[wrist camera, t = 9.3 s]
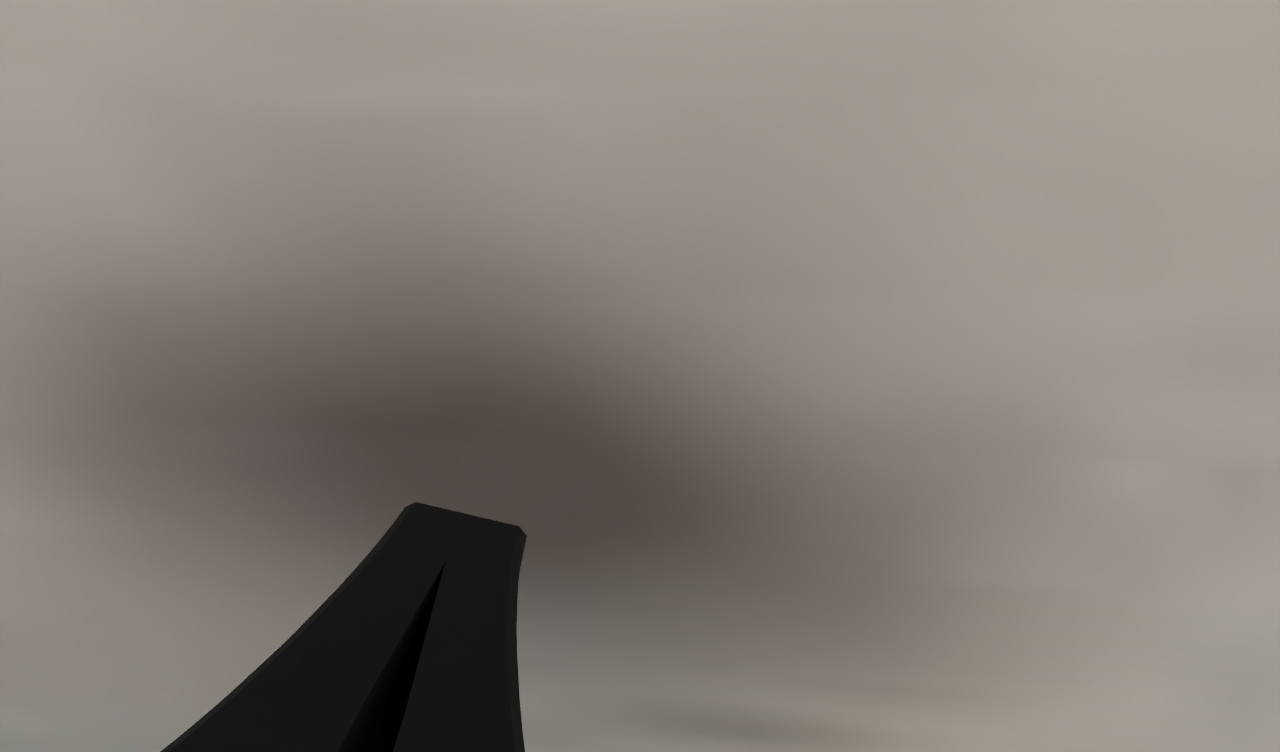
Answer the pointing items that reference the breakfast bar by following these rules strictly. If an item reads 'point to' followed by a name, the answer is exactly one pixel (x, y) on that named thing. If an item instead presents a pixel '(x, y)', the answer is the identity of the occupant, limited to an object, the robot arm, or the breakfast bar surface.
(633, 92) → the breakfast bar surface
